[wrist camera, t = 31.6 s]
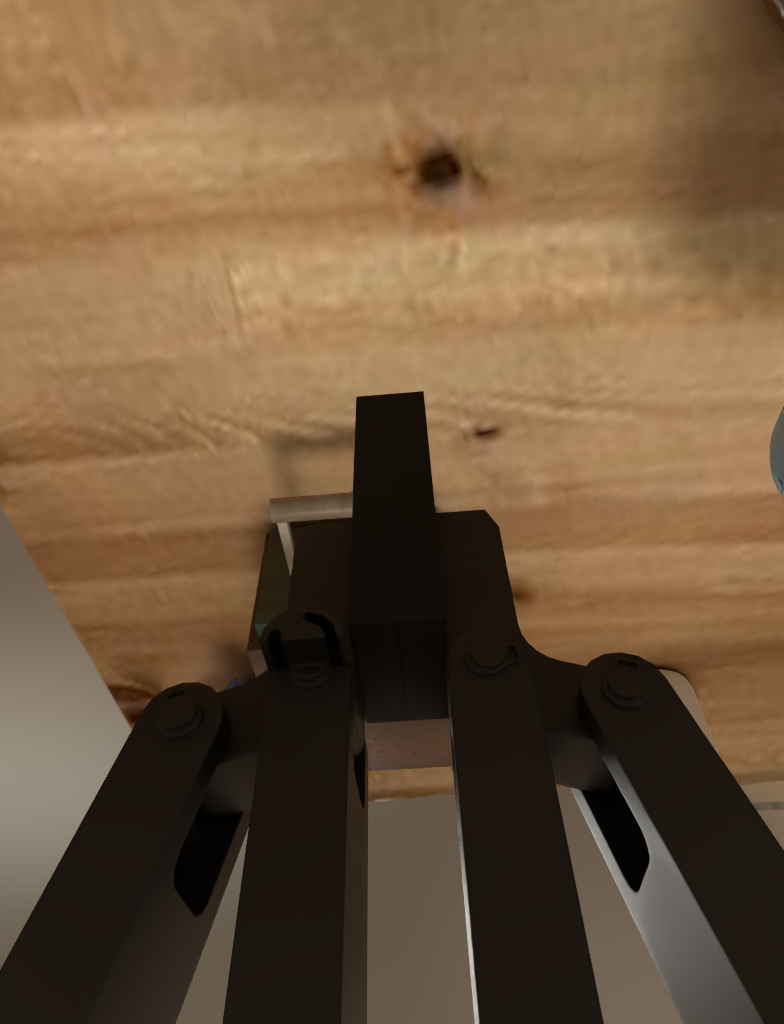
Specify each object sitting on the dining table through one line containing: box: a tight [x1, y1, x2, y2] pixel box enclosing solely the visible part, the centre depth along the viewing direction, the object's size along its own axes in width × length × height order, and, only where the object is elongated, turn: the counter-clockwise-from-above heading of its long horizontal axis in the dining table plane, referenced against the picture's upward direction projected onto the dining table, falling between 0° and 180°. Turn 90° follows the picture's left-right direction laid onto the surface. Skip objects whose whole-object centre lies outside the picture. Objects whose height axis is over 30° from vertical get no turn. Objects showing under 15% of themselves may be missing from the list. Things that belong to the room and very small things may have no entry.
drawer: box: [255, 493, 353, 637], centre depth 46 cm, size 20×11×8 cm, turn 5°
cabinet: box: [247, 534, 452, 771], centre depth 49 cm, size 15×13×10 cm
